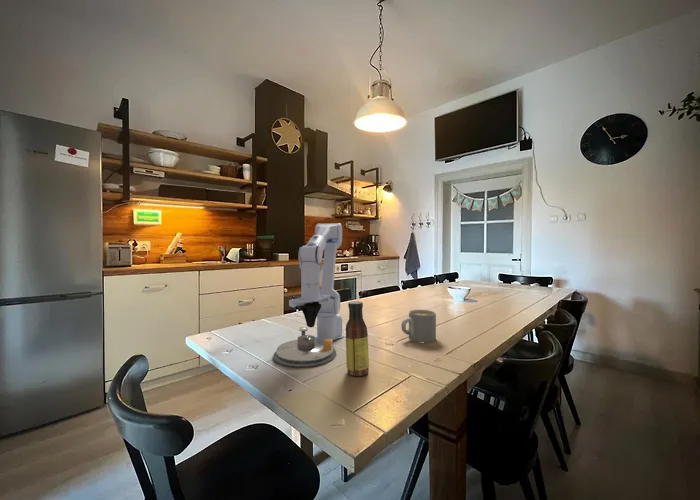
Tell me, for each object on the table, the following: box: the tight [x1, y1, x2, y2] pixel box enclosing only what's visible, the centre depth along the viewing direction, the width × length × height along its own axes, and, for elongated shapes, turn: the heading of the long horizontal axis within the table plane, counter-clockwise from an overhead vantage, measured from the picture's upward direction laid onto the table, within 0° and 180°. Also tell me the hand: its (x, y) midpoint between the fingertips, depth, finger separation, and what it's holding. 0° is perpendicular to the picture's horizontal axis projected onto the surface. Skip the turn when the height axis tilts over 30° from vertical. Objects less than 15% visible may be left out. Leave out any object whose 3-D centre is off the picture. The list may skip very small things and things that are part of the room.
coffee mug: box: [401, 309, 437, 343], centre depth 116 cm, size 13×10×10 cm
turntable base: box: [273, 347, 337, 369], centre depth 100 cm, size 20×20×1 cm
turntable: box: [276, 339, 334, 363], centre depth 100 cm, size 18×18×4 cm
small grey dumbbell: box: [298, 326, 309, 336], centre depth 112 cm, size 3×3×5 cm
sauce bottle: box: [345, 300, 370, 377], centre depth 86 cm, size 6×6×20 cm
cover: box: [296, 334, 315, 351], centre depth 100 cm, size 6×6×4 cm
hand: (310, 326), depth 97 cm, fingers closed
